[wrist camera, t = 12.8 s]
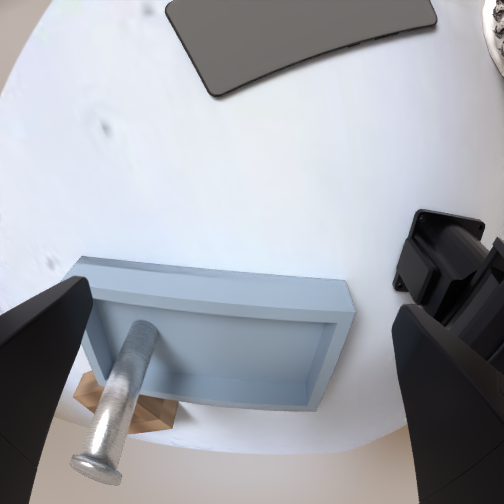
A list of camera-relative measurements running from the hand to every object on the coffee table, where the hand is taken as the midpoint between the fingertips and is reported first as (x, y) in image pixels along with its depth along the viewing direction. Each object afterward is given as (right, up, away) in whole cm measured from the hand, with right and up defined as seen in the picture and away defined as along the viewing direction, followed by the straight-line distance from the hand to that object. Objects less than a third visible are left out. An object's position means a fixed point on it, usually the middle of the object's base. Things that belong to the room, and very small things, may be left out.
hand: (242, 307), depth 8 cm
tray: (-3, -5, +17) cm, 18 cm away
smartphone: (+3, +16, +5) cm, 17 cm away
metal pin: (-8, -5, +16) cm, 19 cm away
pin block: (-13, -14, +22) cm, 29 cm away
